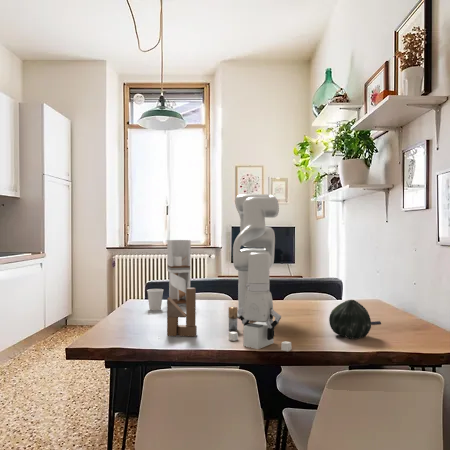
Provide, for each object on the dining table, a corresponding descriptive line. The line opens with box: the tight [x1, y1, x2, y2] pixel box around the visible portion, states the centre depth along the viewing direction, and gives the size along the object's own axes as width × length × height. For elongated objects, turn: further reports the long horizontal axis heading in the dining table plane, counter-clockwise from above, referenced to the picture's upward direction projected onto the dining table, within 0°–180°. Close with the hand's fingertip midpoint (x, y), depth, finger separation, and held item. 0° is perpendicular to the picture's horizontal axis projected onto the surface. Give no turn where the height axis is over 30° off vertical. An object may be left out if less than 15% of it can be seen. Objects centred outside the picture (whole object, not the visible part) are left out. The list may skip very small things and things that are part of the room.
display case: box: [166, 239, 192, 307], centre depth 229 cm, size 11×11×35 cm
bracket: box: [371, 320, 382, 326], centre depth 185 cm, size 14×15×3 cm
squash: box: [328, 299, 372, 340], centre depth 157 cm, size 14×15×15 cm
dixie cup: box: [146, 288, 164, 312], centre depth 212 cm, size 8×8×10 cm
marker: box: [280, 340, 292, 352], centre depth 139 cm, size 2×2×2 cm
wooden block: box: [166, 287, 198, 338], centre depth 159 cm, size 4×11×18 cm, turn 83°
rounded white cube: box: [228, 331, 239, 342], centre depth 152 cm, size 2×2×2 cm
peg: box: [228, 306, 238, 332], centre depth 167 cm, size 4×4×9 cm
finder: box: [242, 321, 275, 350], centre depth 146 cm, size 10×6×7 cm, turn 142°
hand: (258, 337), depth 146 cm, fingers open, 9 cm apart
